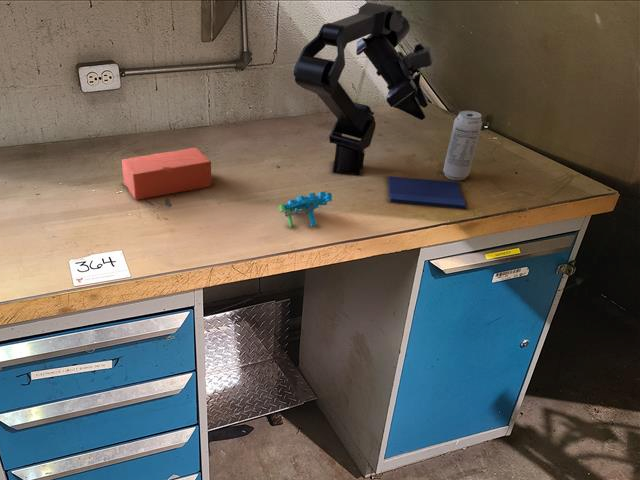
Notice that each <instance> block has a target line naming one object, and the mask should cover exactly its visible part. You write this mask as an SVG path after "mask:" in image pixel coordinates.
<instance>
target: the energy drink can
mask: <svg viewBox="0 0 640 480" xmlns="http://www.w3.org/2000/svg"><path fill="white" fill-rule="evenodd" d="M482 126H483V121H482V114H481V113H480V112H477V111H473V110H460V111H459V113H458V115H457V117H455V119H454V122H453V125H452V129H451V130H452V131H451V135H450V139H449V144H448V148H447V152H446V155H445V160H444V165H443V167H442V168H443V169H442V172H443V173H444V177H446V178H447V179H448V180H453V181H463V180H465V179H466V178H467V177H469V176H470V173H471V169H472V165H473V161H474V157H475V153H476V150H477V146H478V142H479V138H480V134H481V130H482Z"/></svg>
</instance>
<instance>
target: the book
mask: <svg viewBox="0 0 640 480" xmlns="http://www.w3.org/2000/svg"><path fill="white" fill-rule="evenodd" d="M388 189H389V201H390V202H389V203H396V204H407V205H417V206H419V205H420V206H427V207H429V206H430V207H438V208H439V207H440V208H450V209H462V210H466V207H467V204H466V201H465V199H464V197H463V194H462V190H461V187H460V184H459V182H457V181H446V180H436V179H424V178H414V177H403V176H401V177H400V176H391V175H390V176H388Z"/></svg>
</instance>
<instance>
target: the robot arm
mask: <svg viewBox="0 0 640 480" xmlns="http://www.w3.org/2000/svg"><path fill="white" fill-rule="evenodd" d="M410 29H411V25H410V23H409V21H408V19H407V18H406V17H405V16H404V15H403V10H400V9H396V7H395V6H394V5H389V4H382V3H375V2H369V1H367V2H366V3H364V4H362V5H361V6H360V7H359V8H358V12H357V13H356V14H353V15H350V16H346V17H344V18H341V19H339V20H335V21H332V22H327V23H323V24H322V26H321V27H320V29H319V32H318V33H317V35H316V36H315V37H314V38H313V39H311V40H310V41H309V42H308V43H307V44H306V45H304V47H303V48H302V50H301V52H300V54H299V56H298V58H297V61H296V63H295V65H294V68H293V76H294V77H293V79H294V81H295V83H296V85H297V86H299V87H300V88H303V89H304V90H306V91H309V92H311V93H314V94H316V95H317V96H318V97H319V98H320V100H321V101H322V103H324V105H325V106H326V107H327V108H328V109H329V110H330V111H331V113H332V114H333V115H334V116H335V118H336V121H335V123H334V126H333V128H332V129H331V132H330V133H329V135H328V139H329V144H334V145H335V151H334V152H335V153H334V160H333V163H332V164H333V165H332V173H336V174H347V175H358V176H359V175H361V171H362V170H363V169H364V161H365V154H366V153H365V152H366V151H365V150H366V149H367V148H369V147H370V146H371V144H372V140H373V137H374V133H375V130H376V125H377V123H376V120H375V117H374V114H375V112H374V111H373V110H372V109H371V107H370V106H369V105H366V104H362V103H358V102H354V101H353V100H352V97H350V95H349V94H348V93H347V92H346V90H345V89H344V87H343V86H342V85H341V83H340V82H339V80H340V78H341V75H342V73H343V70H344V68H345V66H346V58H345V49H346V47H347V45H348V44H349V43H352V42H353V41H357V40H358V41H357V42H356V51H355V53H356V56H360V55H361V54H363V53H364V55H365V56H366V57H367V59H368V60H369V62H370V63H371V64H372V65H373V67H374V68H375V70H376V72H375V73H376V75H377V76H378V77H381V78H382V79H383V80H384V82H385V83H386V84H387V86H386V88H387V90H388V92H387V95H386V100H385V101H386V102H387V104H388V105H389V106H390V108H394V109H397V110H400V111H402V112H405V113H406V114H408V115H410V116H412V117H414V118H416V119H418V120H420V121H423V120H424V119H426V114H425V112H424V110H423V108H425V109H426V108H427V107H428V105H429V104H428V101H427V98H426V96H425V93H424V91H423V88H422V85H421V83H420V81H421V76H422V71H421V69H423V68H428V67H430V66H432V65H433V62H434V60H433V56H432V55H433V54H432V49H431V47H430V46H425V45H424V44H423V43H422V42H419V43H418V44H416V45H414V48H413V51H411V52H409V53H407V54H404V53H403V51H401V50H400V51H397V49H396V47H397V46H398V45H399V44H400V43H401V42H402V41H403V39H404V38H406V36H407V35H408V34H409V32H410ZM366 36H367V37H366ZM359 39H360V40H359ZM326 46H330V47H336V51H337V55H336V57H335V60H330V59H326V58H321V57H315V56H316V55H318V54H319V53H320V52H321V51H322V50H324V49H325V47H326ZM348 136H349V137H348ZM352 137H353V138H352Z"/></svg>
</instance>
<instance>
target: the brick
mask: <svg viewBox="0 0 640 480" xmlns="http://www.w3.org/2000/svg"><path fill="white" fill-rule="evenodd" d="M121 165H122V166H121V168H122V177H123V178H122V179H123V185H124V186H126V188H127V189H128V191H129V193H130V194H131V195H132V197H133V198H134V199H135V200H136V201H138V200H143V199H148V198H154V197H159V196H166V195H171V194H175V193H180V192H186V191H192V190H197V189H203V188H208V187H210V186H211V185H212V161H211V160H210V158H209V157H207V156H206V155H205V154H204V153H203V152H201V151H200V150H199V148H198V147H190V148H184V149H179V150H173V151H167V152H166V151H165V152H160V153H159V152H158V153H154V154H147V155H146V154H145V155H142V156H141V155H140V156H135V157H128V158H124V159H121Z"/></svg>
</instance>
